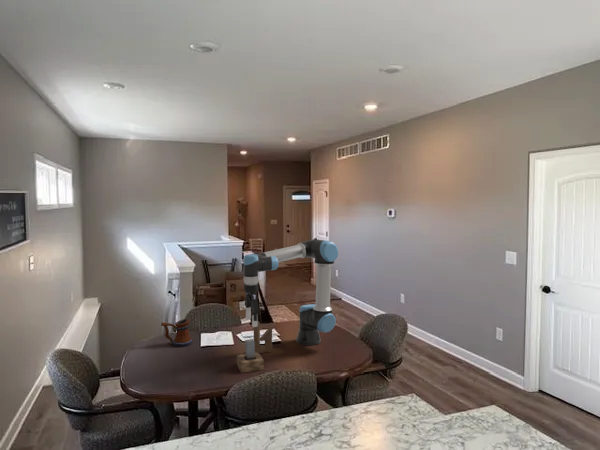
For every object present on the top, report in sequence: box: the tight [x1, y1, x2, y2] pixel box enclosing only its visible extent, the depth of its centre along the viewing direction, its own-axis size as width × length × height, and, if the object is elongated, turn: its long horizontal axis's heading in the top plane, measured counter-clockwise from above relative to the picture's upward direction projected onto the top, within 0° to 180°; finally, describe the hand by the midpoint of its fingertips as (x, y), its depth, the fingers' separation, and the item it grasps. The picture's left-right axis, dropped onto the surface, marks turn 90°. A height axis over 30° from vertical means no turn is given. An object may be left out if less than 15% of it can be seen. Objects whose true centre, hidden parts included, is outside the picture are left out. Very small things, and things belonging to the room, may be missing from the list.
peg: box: [244, 339, 255, 360], centre depth 225 cm, size 4×4×14 cm
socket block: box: [236, 353, 265, 374], centre depth 225 cm, size 12×12×5 cm
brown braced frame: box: [253, 321, 273, 354], centre depth 247 cm, size 4×11×18 cm, turn 111°
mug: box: [160, 318, 193, 348], centre depth 258 cm, size 18×12×15 cm, turn 108°
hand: (251, 323), depth 227 cm, fingers open, 13 cm apart
